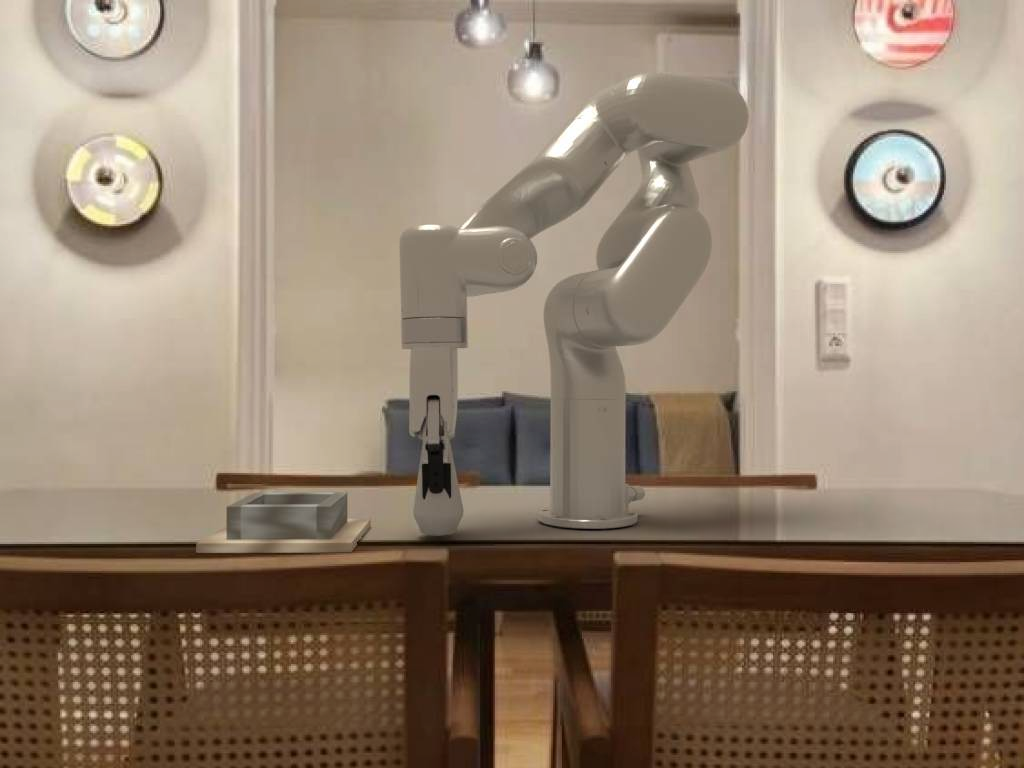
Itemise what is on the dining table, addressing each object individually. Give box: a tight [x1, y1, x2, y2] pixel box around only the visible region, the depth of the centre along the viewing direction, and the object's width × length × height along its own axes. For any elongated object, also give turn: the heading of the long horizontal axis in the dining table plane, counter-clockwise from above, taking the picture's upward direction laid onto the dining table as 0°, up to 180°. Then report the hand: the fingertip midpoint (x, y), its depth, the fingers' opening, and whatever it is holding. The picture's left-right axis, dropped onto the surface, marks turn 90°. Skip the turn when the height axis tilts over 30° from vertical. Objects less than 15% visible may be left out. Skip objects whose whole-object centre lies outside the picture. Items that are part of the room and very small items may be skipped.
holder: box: [195, 491, 372, 554], centre depth 95 cm, size 16×15×4 cm
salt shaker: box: [412, 419, 464, 537], centre depth 96 cm, size 6×6×13 cm
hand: (437, 495), depth 96 cm, fingers closed on salt shaker, 3 cm apart
